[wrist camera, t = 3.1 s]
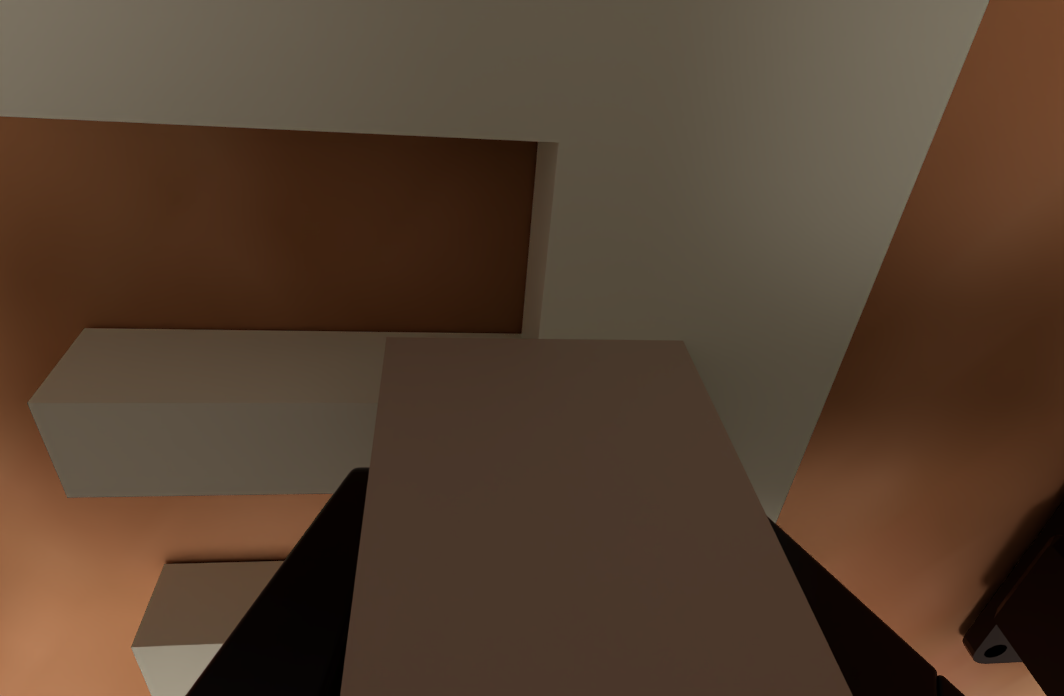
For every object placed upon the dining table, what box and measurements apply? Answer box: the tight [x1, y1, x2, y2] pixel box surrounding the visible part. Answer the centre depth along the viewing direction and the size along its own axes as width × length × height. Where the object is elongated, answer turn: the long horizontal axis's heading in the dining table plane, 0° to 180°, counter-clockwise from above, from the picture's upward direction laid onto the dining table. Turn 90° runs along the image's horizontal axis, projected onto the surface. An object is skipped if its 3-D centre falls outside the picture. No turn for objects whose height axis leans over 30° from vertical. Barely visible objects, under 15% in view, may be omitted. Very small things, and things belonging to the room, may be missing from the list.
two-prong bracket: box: [0, 0, 989, 696], centre depth 8 cm, size 10×12×7 cm
